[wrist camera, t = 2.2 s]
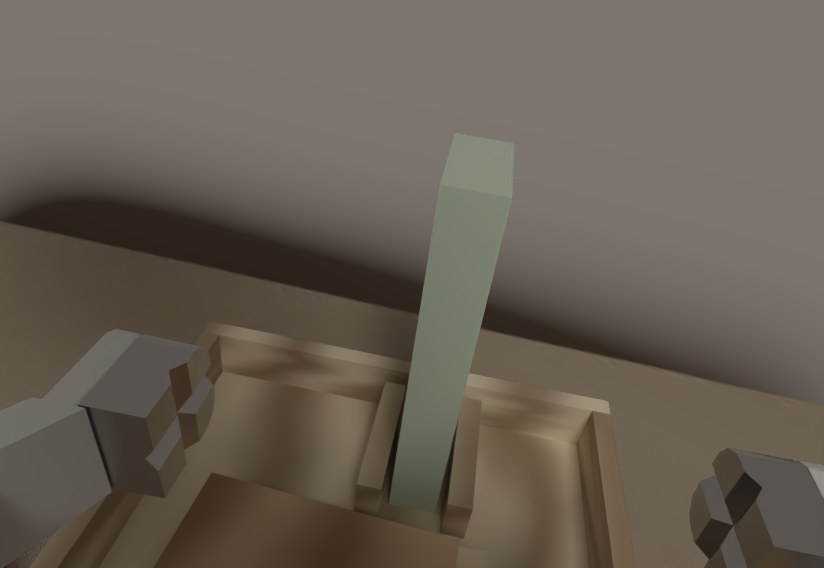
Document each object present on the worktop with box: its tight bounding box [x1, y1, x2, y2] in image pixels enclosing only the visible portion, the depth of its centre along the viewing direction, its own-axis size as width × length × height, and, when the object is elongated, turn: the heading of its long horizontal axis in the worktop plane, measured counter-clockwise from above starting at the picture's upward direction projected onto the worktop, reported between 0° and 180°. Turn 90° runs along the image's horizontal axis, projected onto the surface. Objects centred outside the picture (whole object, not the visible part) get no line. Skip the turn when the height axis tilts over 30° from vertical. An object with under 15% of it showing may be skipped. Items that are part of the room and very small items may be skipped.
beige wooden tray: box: [29, 321, 636, 568], centre depth 27 cm, size 24×20×4 cm
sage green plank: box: [389, 133, 514, 514], centre depth 26 cm, size 2×5×18 cm, turn 171°
